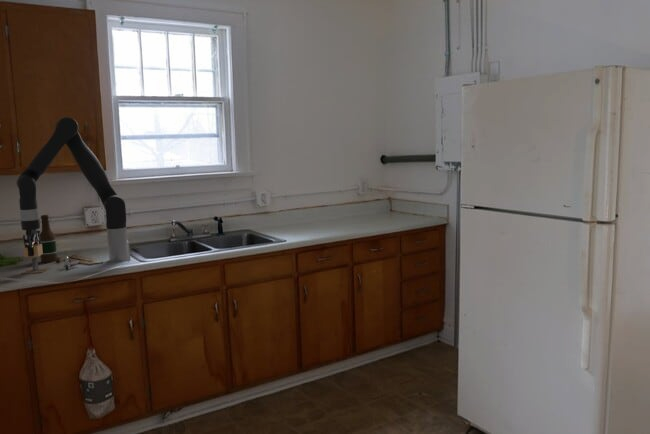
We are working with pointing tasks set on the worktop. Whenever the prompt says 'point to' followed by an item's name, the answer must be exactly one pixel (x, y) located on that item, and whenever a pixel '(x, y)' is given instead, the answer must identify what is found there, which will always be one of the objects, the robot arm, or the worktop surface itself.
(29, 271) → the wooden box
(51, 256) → the beer bottle
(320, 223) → the worktop surface
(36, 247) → the brown slotted box
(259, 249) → the worktop surface
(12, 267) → the worktop surface
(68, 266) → the charcoal stand
